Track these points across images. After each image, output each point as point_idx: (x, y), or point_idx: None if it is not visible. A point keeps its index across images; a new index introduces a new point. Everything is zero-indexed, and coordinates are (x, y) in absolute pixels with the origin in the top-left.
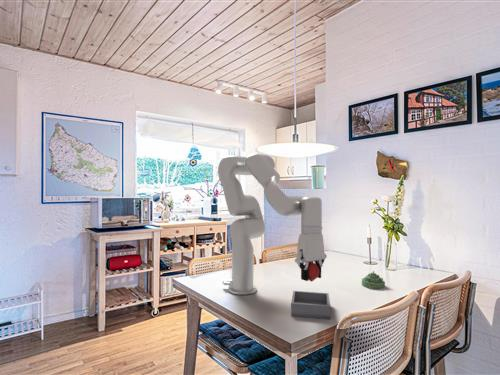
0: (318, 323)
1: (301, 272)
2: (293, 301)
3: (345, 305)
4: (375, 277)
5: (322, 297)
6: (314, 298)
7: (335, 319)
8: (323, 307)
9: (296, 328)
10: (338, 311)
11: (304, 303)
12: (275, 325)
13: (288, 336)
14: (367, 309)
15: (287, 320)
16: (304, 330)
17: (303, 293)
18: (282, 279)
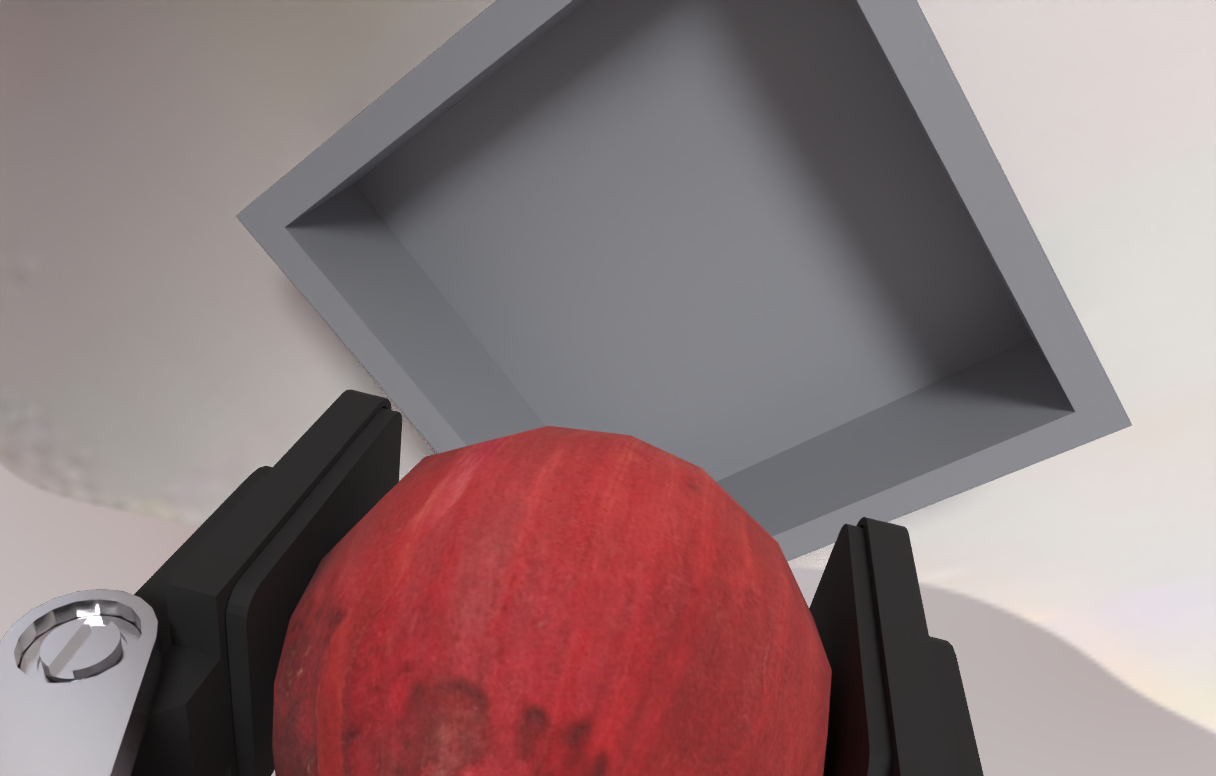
0: None
1: (181, 557)
2: (311, 201)
3: (1201, 507)
4: None
5: (1026, 323)
6: (958, 195)
7: None
8: None
9: (179, 388)
10: (908, 515)
11: (395, 366)
12: (22, 195)
13: (27, 416)
14: (1207, 718)
15: (210, 213)
16: (219, 459)
17: (866, 20)
18: None
